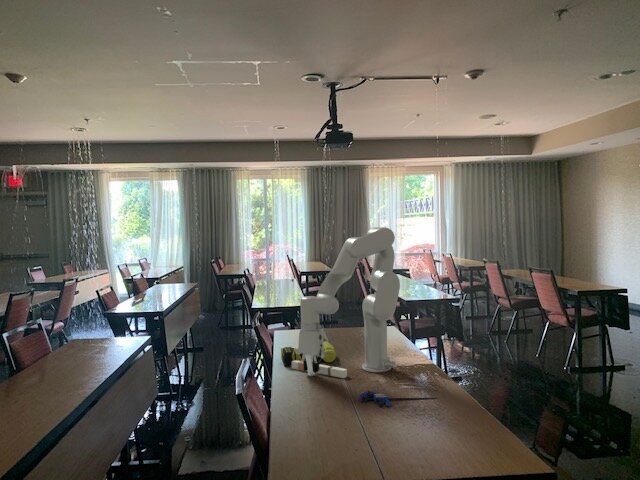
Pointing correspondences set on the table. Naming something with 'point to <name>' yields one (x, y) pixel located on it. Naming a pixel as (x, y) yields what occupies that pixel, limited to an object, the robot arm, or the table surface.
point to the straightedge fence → (323, 369)
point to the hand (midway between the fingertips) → (311, 370)
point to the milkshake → (310, 364)
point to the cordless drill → (291, 355)
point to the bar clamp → (382, 398)
